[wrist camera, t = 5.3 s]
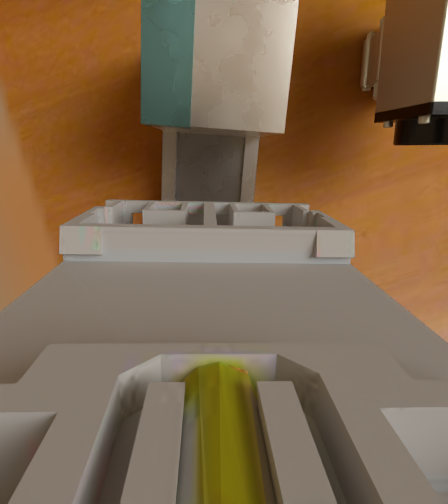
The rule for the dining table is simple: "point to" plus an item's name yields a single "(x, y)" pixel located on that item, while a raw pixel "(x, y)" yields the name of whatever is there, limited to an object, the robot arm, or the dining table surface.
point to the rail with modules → (215, 91)
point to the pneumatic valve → (410, 71)
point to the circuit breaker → (217, 367)
